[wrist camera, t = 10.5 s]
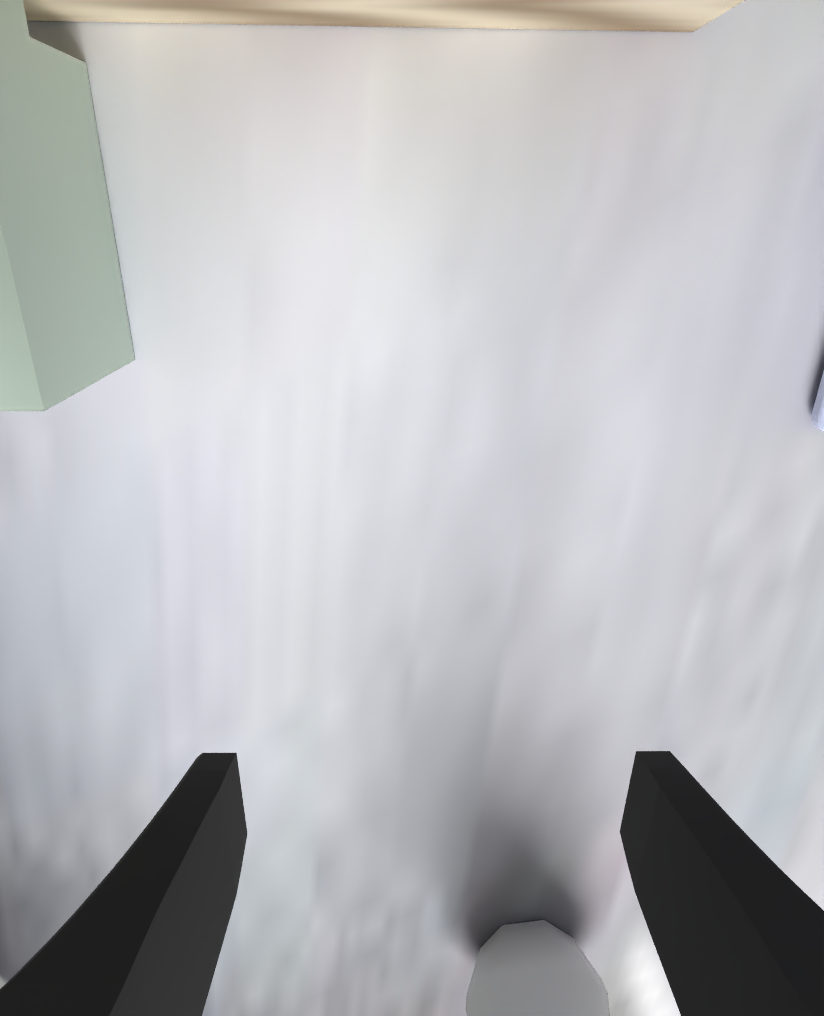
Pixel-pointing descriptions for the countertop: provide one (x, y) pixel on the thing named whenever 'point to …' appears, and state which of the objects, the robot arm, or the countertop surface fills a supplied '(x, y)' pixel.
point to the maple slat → (397, 13)
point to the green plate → (53, 229)
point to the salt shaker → (534, 975)
